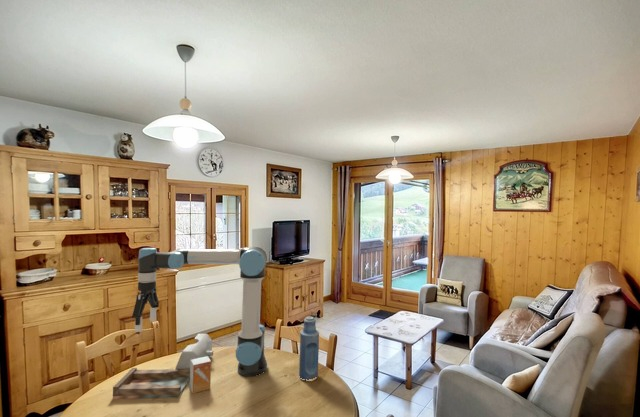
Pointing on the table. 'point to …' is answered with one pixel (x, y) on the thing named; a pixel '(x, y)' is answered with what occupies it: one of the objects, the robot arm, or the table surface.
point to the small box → (200, 374)
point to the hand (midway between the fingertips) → (146, 326)
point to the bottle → (309, 349)
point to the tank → (195, 351)
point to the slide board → (152, 383)
